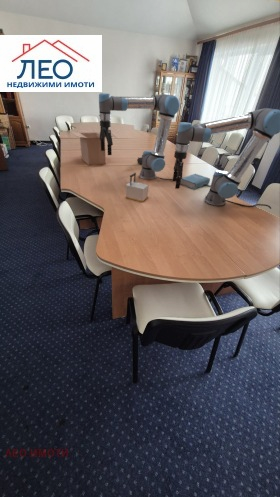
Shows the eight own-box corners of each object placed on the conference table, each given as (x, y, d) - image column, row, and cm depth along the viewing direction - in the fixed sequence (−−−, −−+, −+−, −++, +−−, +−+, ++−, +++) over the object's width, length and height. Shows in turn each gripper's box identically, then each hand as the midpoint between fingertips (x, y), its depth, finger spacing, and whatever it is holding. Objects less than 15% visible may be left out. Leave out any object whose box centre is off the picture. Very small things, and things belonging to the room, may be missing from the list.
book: (194, 178, 210) (195, 173, 207) (209, 183, 201) (210, 178, 198) (179, 183, 196) (180, 178, 193) (194, 189, 188) (196, 183, 185)
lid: (125, 186, 161) (125, 174, 156) (131, 182, 168) (131, 171, 163) (143, 190, 156) (144, 178, 151) (148, 186, 163) (149, 175, 158)
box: (116, 165, 229) (116, 136, 213) (83, 168, 214) (80, 137, 198) (102, 154, 259) (101, 128, 243) (71, 156, 244) (68, 129, 228)
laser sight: (156, 166, 234) (157, 157, 228) (136, 164, 237) (136, 154, 231) (158, 164, 241) (159, 154, 236) (138, 162, 244) (138, 152, 238)
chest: (125, 197, 166) (126, 186, 160) (131, 193, 173) (131, 182, 167) (142, 201, 162) (143, 190, 156) (147, 197, 169) (148, 186, 163)
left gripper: (94, 117, 160) (95, 149, 173) (106, 123, 143) (107, 157, 156) (103, 117, 163) (104, 148, 176) (117, 123, 146) (117, 156, 159)
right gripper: (172, 146, 146) (168, 178, 159) (178, 156, 126) (172, 191, 139) (183, 147, 146) (178, 178, 159) (191, 156, 126) (184, 192, 139)
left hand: (106, 152), depth 166 cm, fingers open, 13 cm apart
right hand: (175, 184), depth 149 cm, fingers open, 13 cm apart
